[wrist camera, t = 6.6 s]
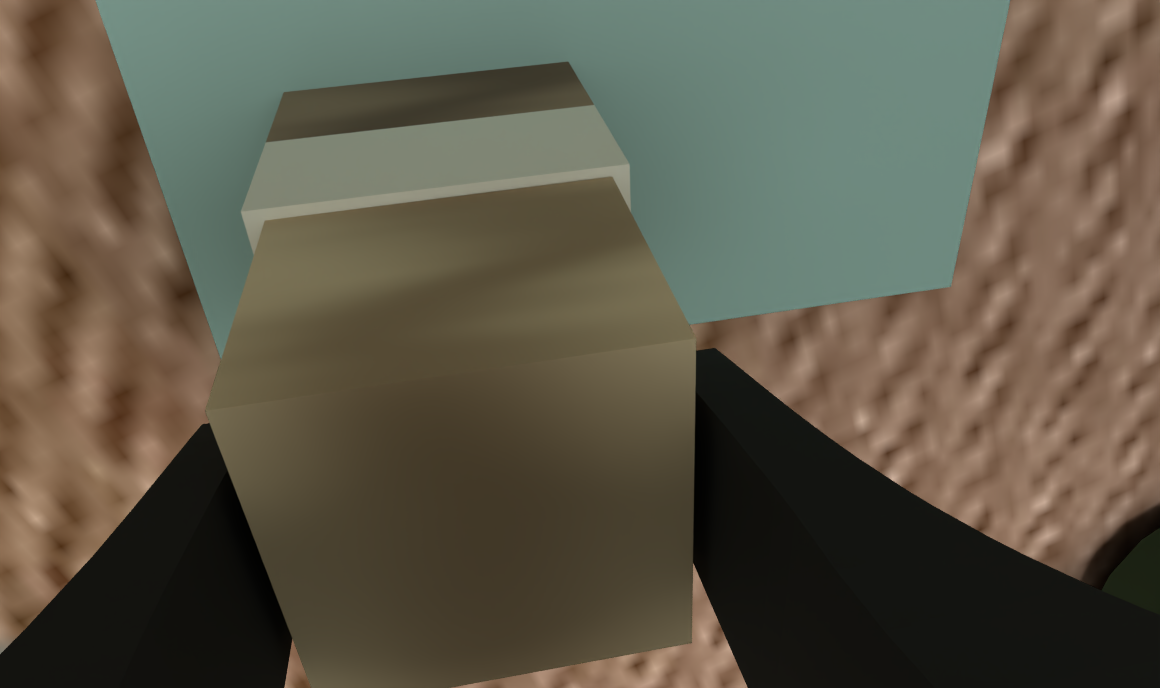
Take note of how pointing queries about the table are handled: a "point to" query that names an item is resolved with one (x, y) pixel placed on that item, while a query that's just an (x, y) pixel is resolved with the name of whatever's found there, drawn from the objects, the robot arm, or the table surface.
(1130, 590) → the character mug
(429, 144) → the cream block
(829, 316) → the table surface
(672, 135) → the teal board
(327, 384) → the oak block
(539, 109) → the walnut block
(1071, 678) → the robot arm
